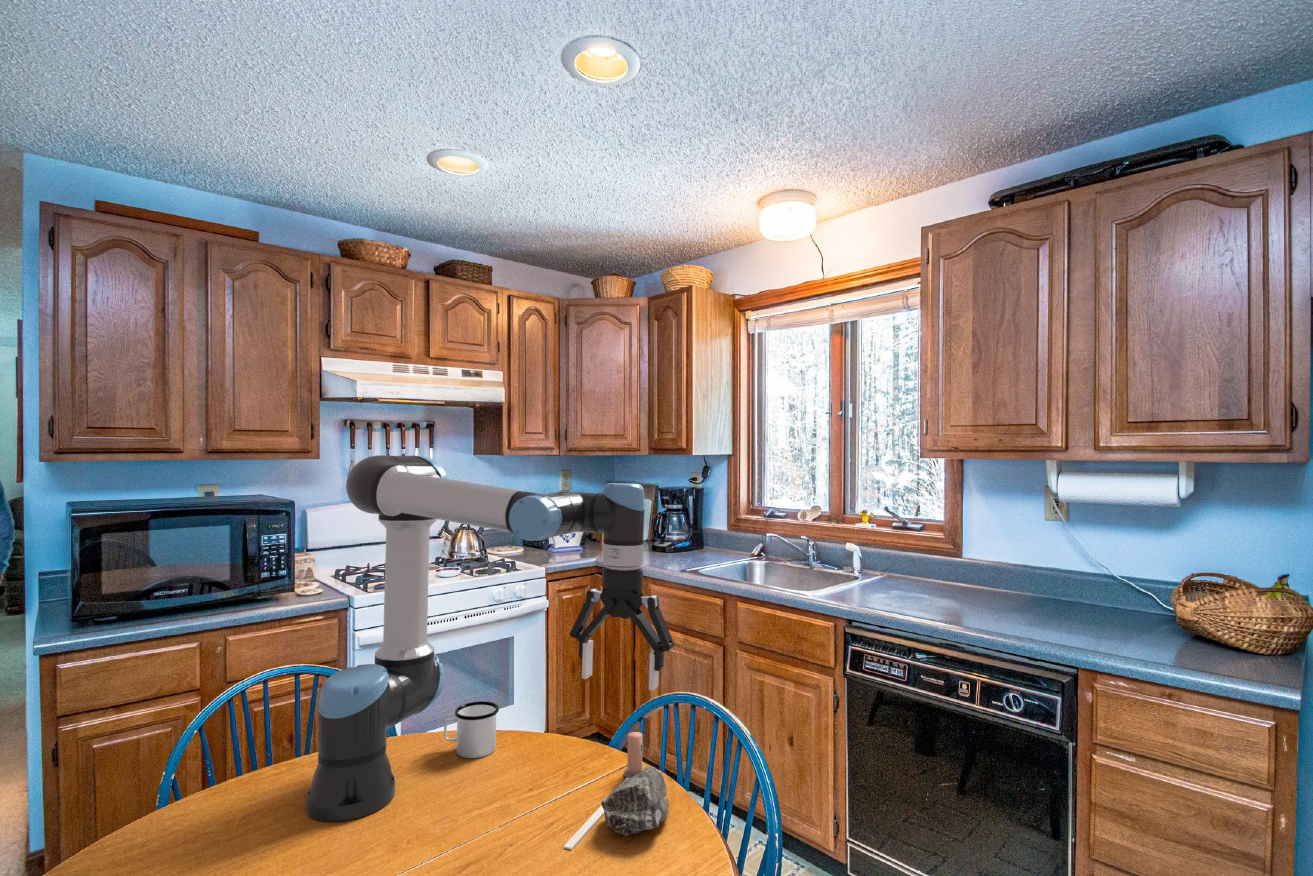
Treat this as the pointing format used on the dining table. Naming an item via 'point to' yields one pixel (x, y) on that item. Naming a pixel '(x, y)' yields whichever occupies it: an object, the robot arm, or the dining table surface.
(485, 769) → the dining table surface
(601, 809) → the crank handle
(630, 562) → the robot arm
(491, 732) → the mug
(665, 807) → the rock
